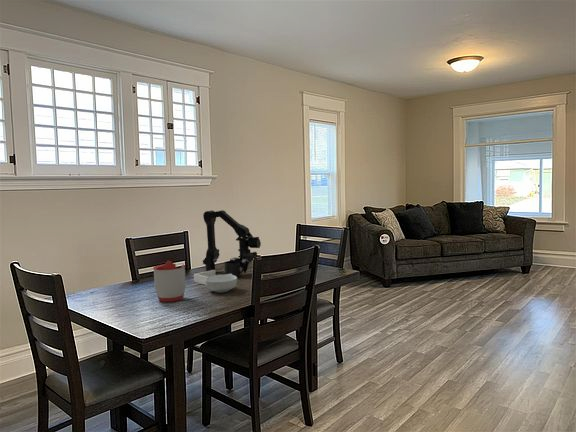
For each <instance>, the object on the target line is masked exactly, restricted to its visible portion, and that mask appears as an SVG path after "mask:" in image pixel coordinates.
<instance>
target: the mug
mask: <svg viewBox="0 0 576 432" xmlns="http://www.w3.org/2000/svg"><path fill="white" fill-rule="evenodd" d="M243 270H244V269H243V267H242V266H240V263H239V262H238V263H230V260H228V261H224V274H232V275H234V276H236V277H237V279H238V278H240V277H241V275H242V273H244V271H243Z"/></svg>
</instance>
